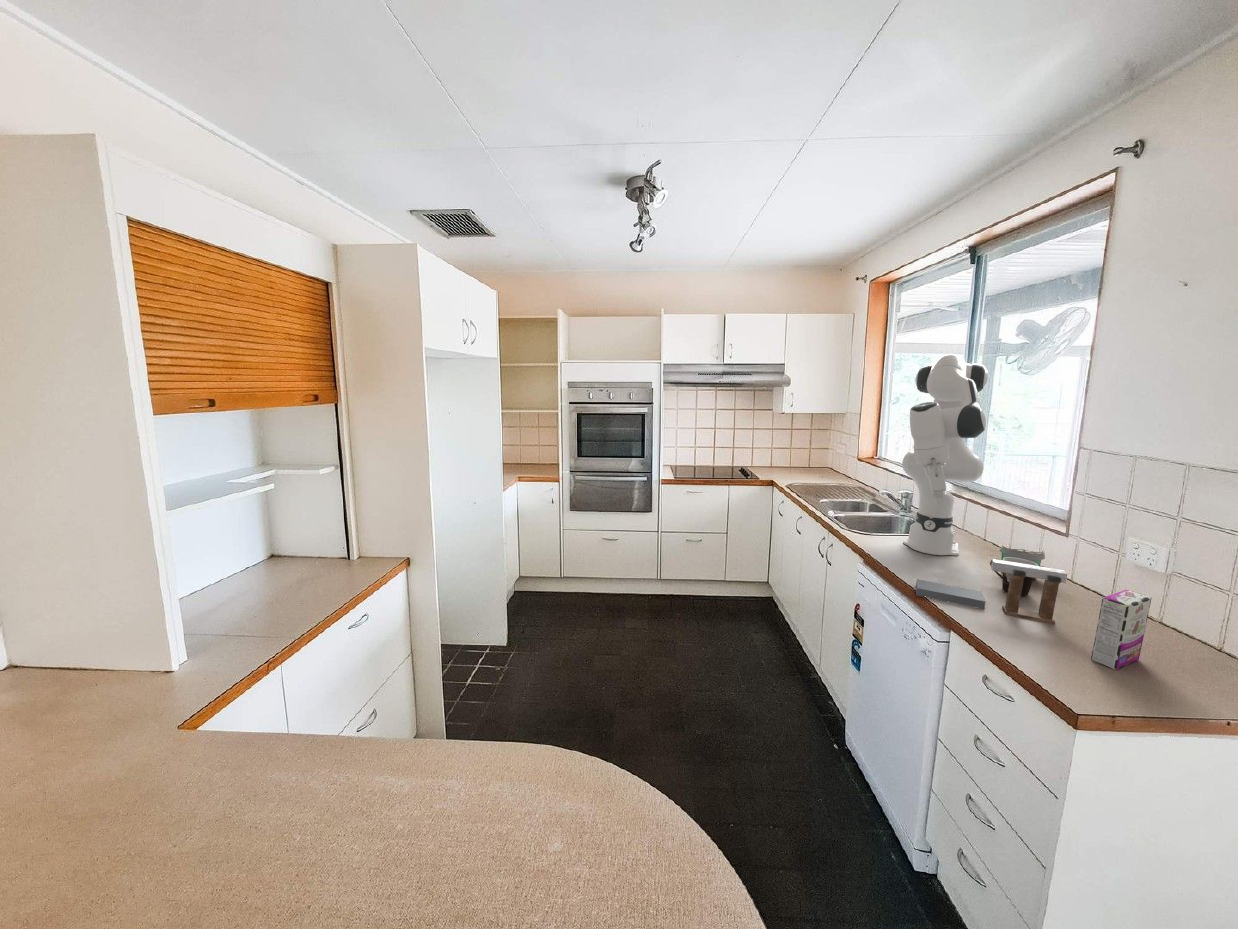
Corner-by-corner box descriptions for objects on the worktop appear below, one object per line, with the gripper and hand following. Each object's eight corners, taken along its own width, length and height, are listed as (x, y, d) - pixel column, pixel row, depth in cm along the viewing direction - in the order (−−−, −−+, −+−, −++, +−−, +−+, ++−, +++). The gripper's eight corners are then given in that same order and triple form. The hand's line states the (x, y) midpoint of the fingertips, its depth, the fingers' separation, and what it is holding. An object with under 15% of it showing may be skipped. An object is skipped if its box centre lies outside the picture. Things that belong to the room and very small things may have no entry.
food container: (1001, 579, 164) (1006, 550, 162) (995, 572, 169) (1000, 545, 167) (1047, 585, 159) (1052, 556, 157) (1039, 578, 165) (1044, 550, 163)
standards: (1004, 614, 139) (1012, 570, 136) (1001, 607, 143) (1009, 565, 140) (1055, 624, 133) (1063, 579, 131) (1050, 617, 138) (1058, 573, 135)
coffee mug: (1040, 598, 149) (1045, 568, 147) (1011, 598, 149) (1017, 567, 148) (1010, 582, 161) (1015, 554, 159) (984, 582, 161) (989, 553, 159)
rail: (992, 570, 139) (993, 562, 139) (990, 567, 142) (992, 558, 142) (1065, 583, 132) (1067, 574, 131) (1062, 579, 134) (1064, 570, 134)
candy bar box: (1112, 650, 121) (1125, 588, 118) (1139, 660, 117) (1154, 597, 114) (1088, 659, 117) (1101, 596, 114) (1115, 671, 112) (1130, 605, 109)
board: (916, 595, 150) (917, 588, 150) (915, 586, 157) (916, 579, 156) (984, 609, 142) (985, 601, 141) (980, 598, 149) (981, 591, 148)
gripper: (947, 460, 138) (955, 507, 139) (940, 449, 156) (946, 490, 157) (922, 463, 141) (929, 509, 143) (917, 452, 159) (924, 492, 160)
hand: (938, 499), depth 150 cm, fingers open, 8 cm apart
